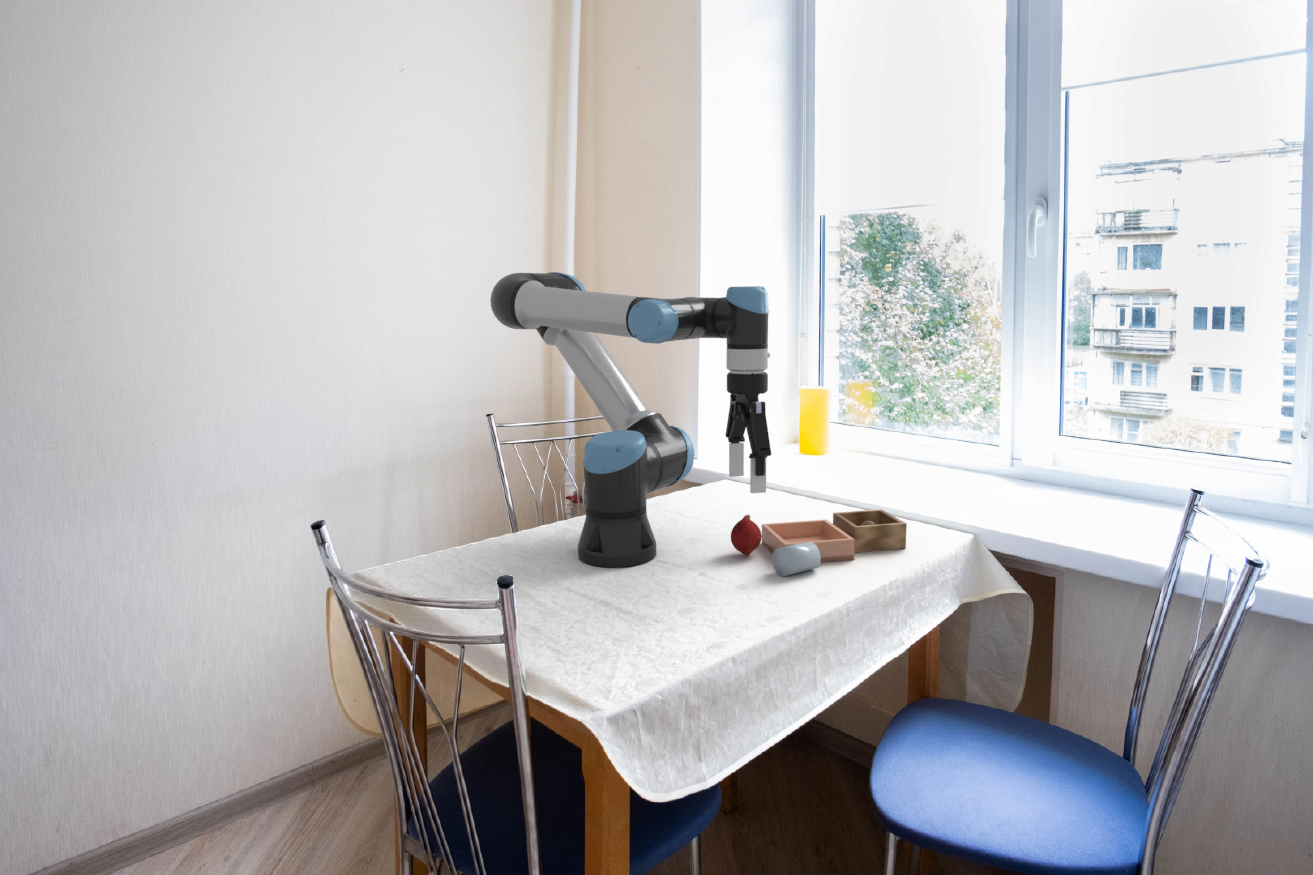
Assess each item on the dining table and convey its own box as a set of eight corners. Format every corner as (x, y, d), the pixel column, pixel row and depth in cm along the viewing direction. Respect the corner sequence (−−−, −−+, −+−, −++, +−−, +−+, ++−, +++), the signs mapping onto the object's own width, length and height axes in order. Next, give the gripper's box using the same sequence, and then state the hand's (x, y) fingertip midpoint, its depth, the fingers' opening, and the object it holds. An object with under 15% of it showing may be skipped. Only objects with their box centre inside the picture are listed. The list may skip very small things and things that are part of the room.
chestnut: (863, 541, 161) (864, 524, 160) (856, 536, 165) (856, 519, 164) (880, 540, 162) (881, 522, 161) (872, 535, 165) (873, 517, 165)
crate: (854, 552, 157) (855, 527, 156) (832, 536, 167) (833, 512, 167) (905, 548, 159) (906, 523, 158) (880, 532, 169) (881, 509, 168)
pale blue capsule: (790, 579, 143) (790, 552, 142) (771, 571, 147) (772, 544, 147) (820, 572, 147) (820, 545, 146) (801, 564, 151) (802, 538, 150)
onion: (743, 562, 153) (744, 520, 151) (724, 554, 157) (724, 514, 156) (767, 556, 156) (767, 515, 154) (747, 548, 161) (748, 509, 159)
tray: (784, 565, 150) (785, 544, 150) (761, 543, 164) (761, 524, 163) (854, 559, 153) (854, 539, 152) (825, 538, 166) (826, 519, 165)
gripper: (790, 377, 139) (788, 498, 143) (746, 364, 163) (746, 468, 167) (748, 379, 138) (747, 501, 141) (710, 366, 162) (710, 470, 165)
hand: (746, 484), depth 154 cm, fingers open, 13 cm apart
